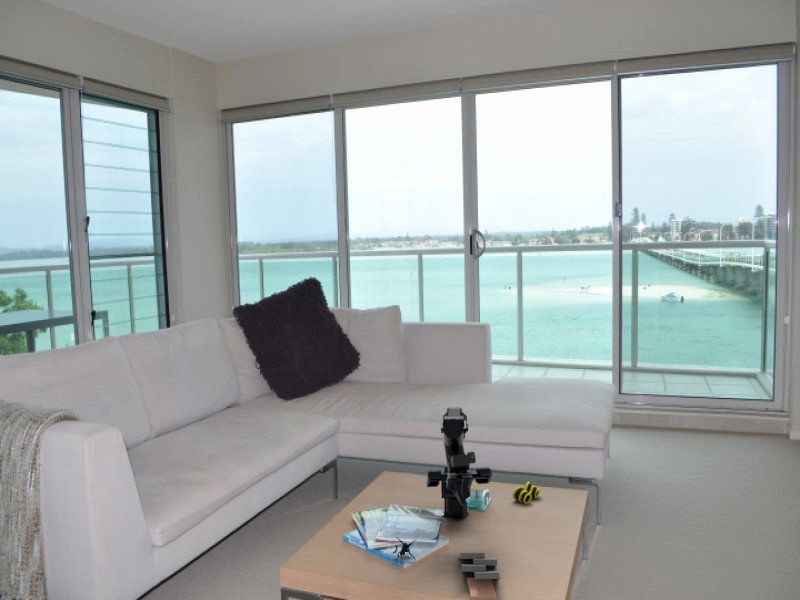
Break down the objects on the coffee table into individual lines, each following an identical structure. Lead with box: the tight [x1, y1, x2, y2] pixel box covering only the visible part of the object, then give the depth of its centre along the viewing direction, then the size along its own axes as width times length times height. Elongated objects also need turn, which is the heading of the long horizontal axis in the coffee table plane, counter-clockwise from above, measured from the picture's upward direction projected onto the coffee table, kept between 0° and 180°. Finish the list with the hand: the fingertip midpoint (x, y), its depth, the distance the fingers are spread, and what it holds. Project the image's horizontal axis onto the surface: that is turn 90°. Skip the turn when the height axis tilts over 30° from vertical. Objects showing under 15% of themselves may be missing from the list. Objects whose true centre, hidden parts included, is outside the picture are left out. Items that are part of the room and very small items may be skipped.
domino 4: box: [473, 570, 500, 580], centre depth 164 cm, size 1×6×9 cm
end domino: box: [467, 576, 497, 600], centre depth 162 cm, size 1×6×9 cm
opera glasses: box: [512, 481, 541, 505], centre depth 218 cm, size 10×5×5 cm, turn 138°
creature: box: [392, 537, 418, 564], centre depth 178 cm, size 8×5×8 cm
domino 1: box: [458, 551, 486, 560], centre depth 175 cm, size 1×6×9 cm
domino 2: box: [461, 563, 487, 573], centre depth 168 cm, size 1×6×9 cm
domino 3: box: [472, 557, 498, 566], centre depth 171 cm, size 1×6×9 cm
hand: (463, 505), depth 185 cm, fingers closed
